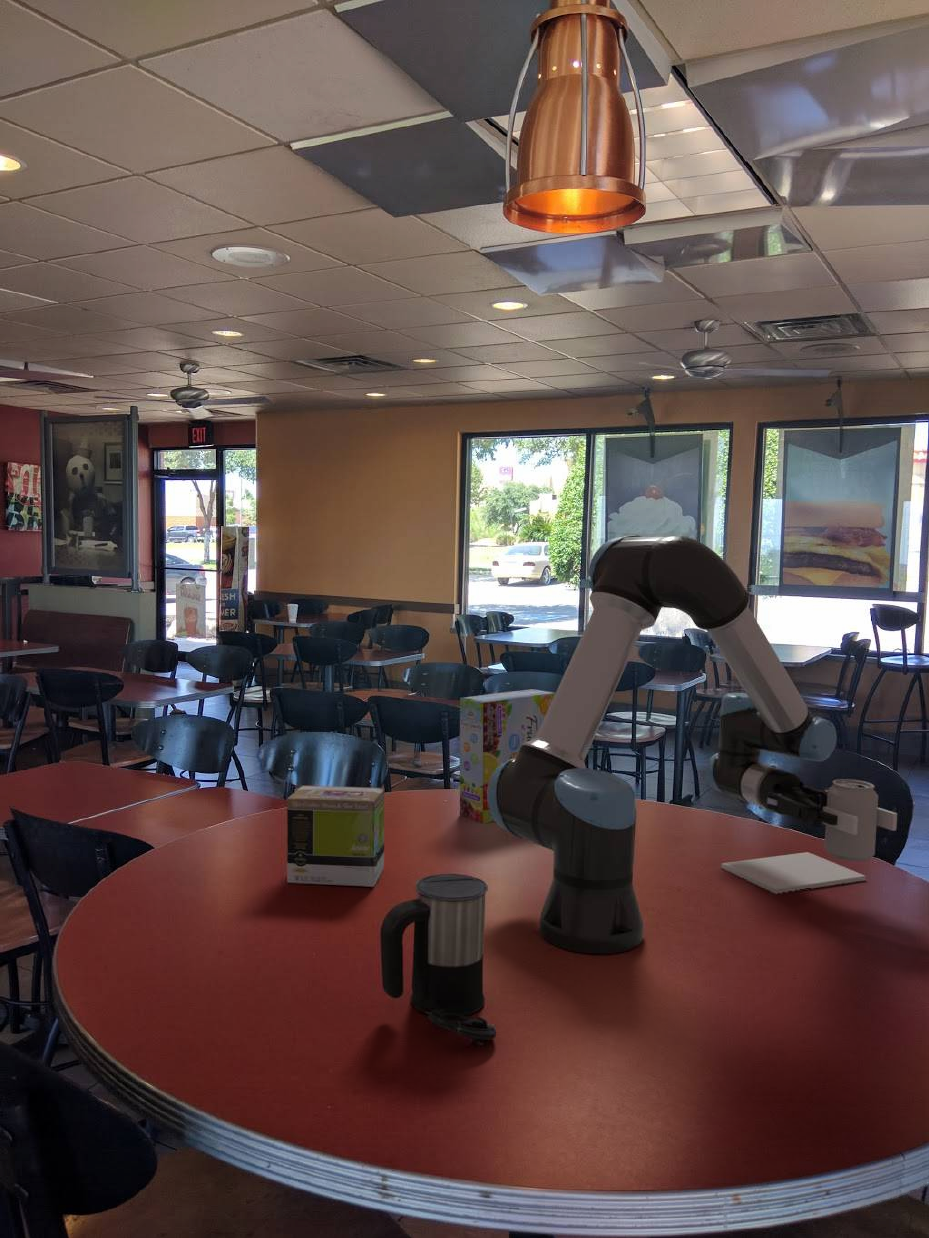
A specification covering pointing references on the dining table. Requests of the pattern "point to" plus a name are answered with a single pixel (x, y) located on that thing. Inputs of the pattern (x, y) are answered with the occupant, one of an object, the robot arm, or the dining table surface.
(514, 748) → the snack box
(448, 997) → the milk frother
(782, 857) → the placemat
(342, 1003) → the dining table surface
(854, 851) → the can
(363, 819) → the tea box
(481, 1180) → the dining table surface
